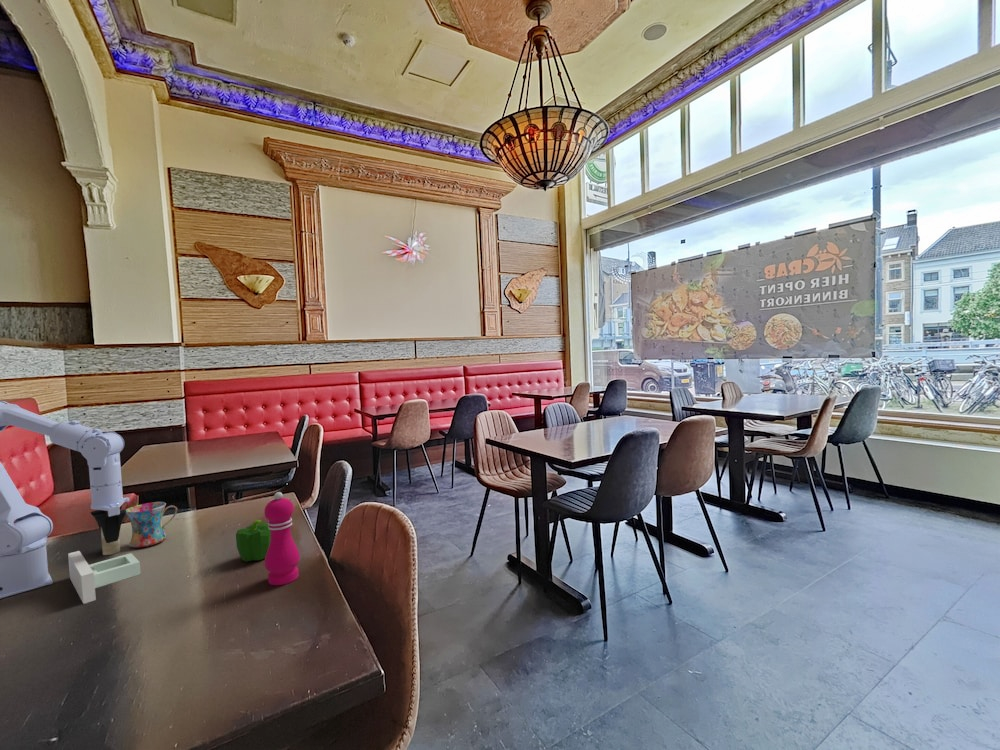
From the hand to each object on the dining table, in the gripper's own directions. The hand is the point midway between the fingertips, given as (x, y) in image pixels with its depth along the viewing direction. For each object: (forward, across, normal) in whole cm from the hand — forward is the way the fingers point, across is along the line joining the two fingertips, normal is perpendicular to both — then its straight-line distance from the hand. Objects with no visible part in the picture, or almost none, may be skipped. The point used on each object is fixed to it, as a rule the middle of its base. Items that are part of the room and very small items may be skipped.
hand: (110, 539), depth 110 cm
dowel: (+3, 0, 0) cm, 3 cm away
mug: (+9, +19, -12) cm, 24 cm away
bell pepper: (+9, -19, -25) cm, 33 cm away
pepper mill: (+9, -37, -24) cm, 45 cm away
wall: (+9, -2, +6) cm, 11 cm away
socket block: (+9, 0, 0) cm, 9 cm away
